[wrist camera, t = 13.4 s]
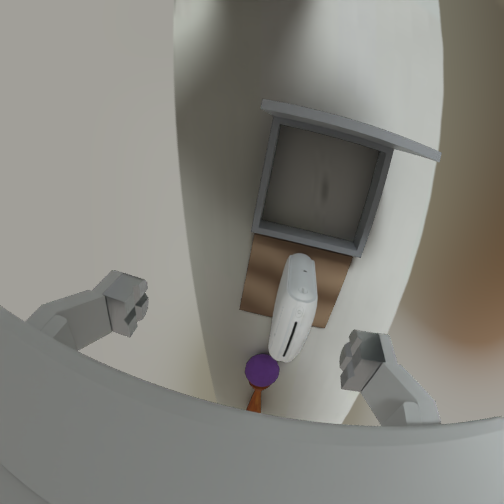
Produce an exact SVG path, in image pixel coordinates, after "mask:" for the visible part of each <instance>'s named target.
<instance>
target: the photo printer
mask: <svg viewBox="0 0 504 504" xmlns="http://www.w3.org/2000/svg"><path fill="white" fill-rule="evenodd" d="M317 300H318V295H317V284H316V272H315V262H314V260H311V258H310V257H309V256H307V255H306V254H302V253H296V254H293V255H290V256H289V257H288V259H287V261H286V264H285V267H284V270H283V274H282V277H281V280H280V284H279V288H278V292H277V296H276V301H275V306H274V311H273V318H272V324H271V331H270V337H269V343H268V349H269V353H270V355H271V357H272V358H273V359H275V360H276V361H283V362H285V363H286V362H290V361H292V360H293V359H294V358H295V357H296V356H297V355H298V354H299V352H300V351H301V349H302V347H303V345H304V343H305V341H306V339H307V336H308V334H309V332H310V329H311V326H312V323H313V320H314V317H315V313H316V308H317Z"/></svg>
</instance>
